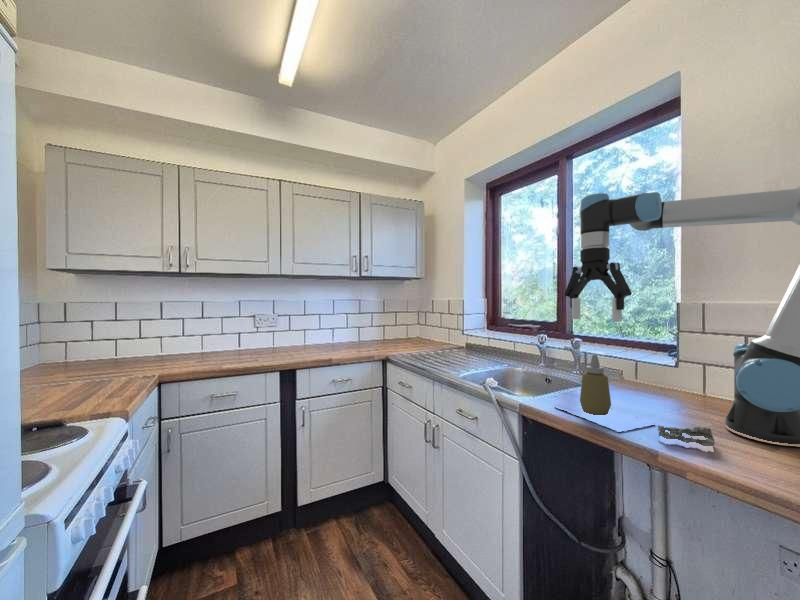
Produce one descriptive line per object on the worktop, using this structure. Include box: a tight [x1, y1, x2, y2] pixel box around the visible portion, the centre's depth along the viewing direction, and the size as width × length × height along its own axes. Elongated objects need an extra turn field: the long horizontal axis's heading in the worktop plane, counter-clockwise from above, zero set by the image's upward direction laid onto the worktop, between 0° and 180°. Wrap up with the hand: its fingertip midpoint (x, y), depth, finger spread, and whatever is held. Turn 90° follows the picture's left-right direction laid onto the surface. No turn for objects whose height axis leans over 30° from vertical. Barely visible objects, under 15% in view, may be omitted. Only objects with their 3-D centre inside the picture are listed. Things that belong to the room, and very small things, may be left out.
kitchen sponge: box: [657, 425, 716, 447], centre depth 84 cm, size 11×8×4 cm
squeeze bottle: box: [579, 353, 612, 415], centre depth 102 cm, size 8×8×18 cm
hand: (595, 320), depth 102 cm, fingers open, 13 cm apart
